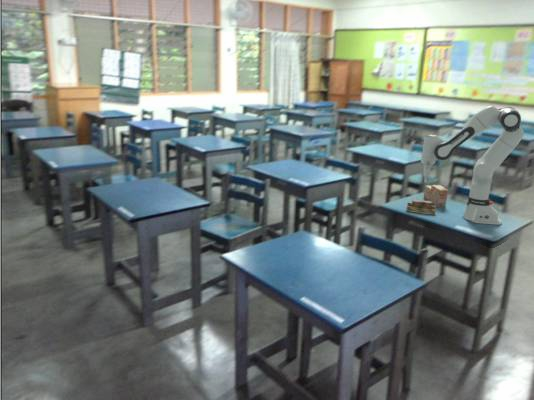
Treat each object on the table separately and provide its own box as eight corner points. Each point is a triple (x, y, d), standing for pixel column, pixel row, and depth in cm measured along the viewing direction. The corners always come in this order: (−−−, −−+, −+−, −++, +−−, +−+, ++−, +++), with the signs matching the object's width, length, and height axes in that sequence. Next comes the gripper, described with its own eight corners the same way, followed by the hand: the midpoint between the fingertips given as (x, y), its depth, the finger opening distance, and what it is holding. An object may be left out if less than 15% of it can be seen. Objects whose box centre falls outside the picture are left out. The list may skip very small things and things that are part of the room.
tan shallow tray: (434, 210, 297) (435, 205, 296) (435, 214, 288) (435, 210, 287) (407, 206, 302) (407, 202, 301) (406, 210, 293) (407, 206, 292)
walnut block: (411, 209, 294) (412, 201, 292) (411, 207, 298) (412, 199, 296) (430, 211, 291) (431, 203, 290) (430, 209, 295) (431, 201, 293)
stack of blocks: (423, 197, 325) (425, 181, 321) (431, 197, 325) (433, 181, 322) (437, 206, 304) (439, 189, 301) (445, 206, 305) (448, 189, 301)
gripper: (433, 163, 274) (430, 185, 278) (433, 157, 292) (430, 177, 297) (422, 162, 276) (419, 183, 280) (423, 156, 294) (420, 176, 299)
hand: (425, 180), depth 288 cm, fingers open, 8 cm apart
